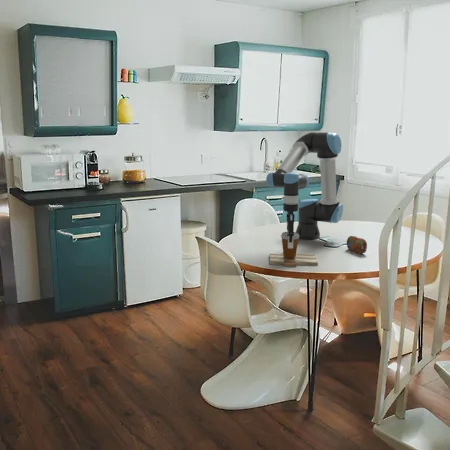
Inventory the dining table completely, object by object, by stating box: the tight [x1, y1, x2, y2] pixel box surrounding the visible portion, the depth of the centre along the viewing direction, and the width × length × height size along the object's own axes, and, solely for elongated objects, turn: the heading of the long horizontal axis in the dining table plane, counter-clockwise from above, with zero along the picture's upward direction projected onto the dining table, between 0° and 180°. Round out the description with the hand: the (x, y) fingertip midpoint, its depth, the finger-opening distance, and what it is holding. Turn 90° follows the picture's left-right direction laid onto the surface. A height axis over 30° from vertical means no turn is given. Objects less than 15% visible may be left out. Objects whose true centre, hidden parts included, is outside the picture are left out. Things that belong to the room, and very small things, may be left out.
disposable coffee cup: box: [280, 231, 300, 258], centre depth 281 cm, size 10×10×12 cm
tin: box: [346, 235, 368, 255], centre depth 298 cm, size 15×3×8 cm, turn 24°
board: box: [269, 252, 319, 268], centre depth 283 cm, size 22×24×2 cm
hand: (289, 245), depth 282 cm, fingers closed on disposable coffee cup, 9 cm apart
